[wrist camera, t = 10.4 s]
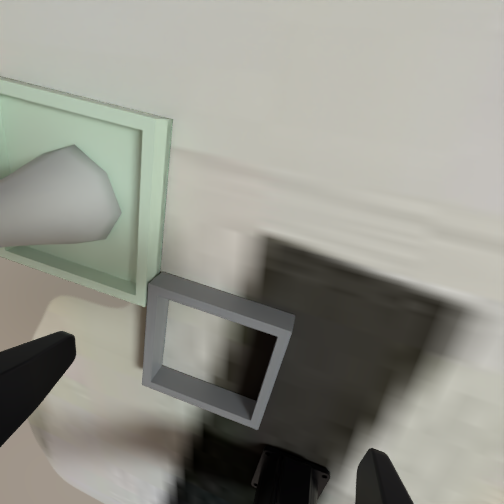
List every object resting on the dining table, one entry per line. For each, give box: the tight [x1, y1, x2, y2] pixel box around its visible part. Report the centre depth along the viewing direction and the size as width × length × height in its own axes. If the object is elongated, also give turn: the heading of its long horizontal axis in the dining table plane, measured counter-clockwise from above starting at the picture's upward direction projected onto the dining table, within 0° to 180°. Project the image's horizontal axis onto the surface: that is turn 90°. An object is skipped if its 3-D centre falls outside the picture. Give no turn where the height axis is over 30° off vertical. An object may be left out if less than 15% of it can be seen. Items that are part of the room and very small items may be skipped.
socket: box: [142, 272, 295, 430], centre depth 24 cm, size 11×11×2 cm
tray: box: [0, 76, 173, 307], centre depth 22 cm, size 14×14×2 cm
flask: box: [0, 144, 122, 248], centre depth 18 cm, size 7×7×10 cm
